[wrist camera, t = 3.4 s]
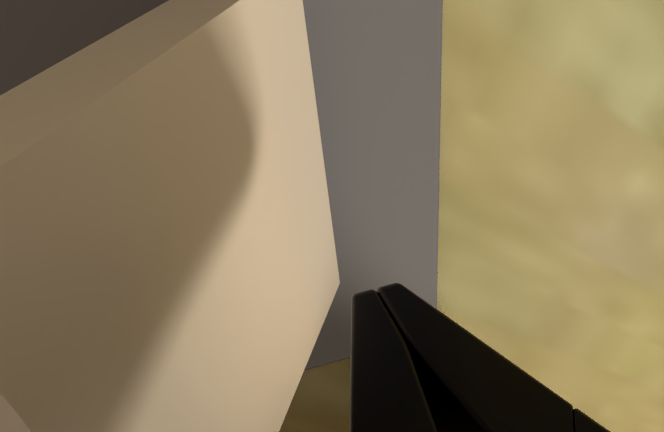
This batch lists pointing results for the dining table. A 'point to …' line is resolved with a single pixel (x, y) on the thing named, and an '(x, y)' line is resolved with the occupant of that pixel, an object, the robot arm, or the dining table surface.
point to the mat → (334, 122)
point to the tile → (165, 226)
